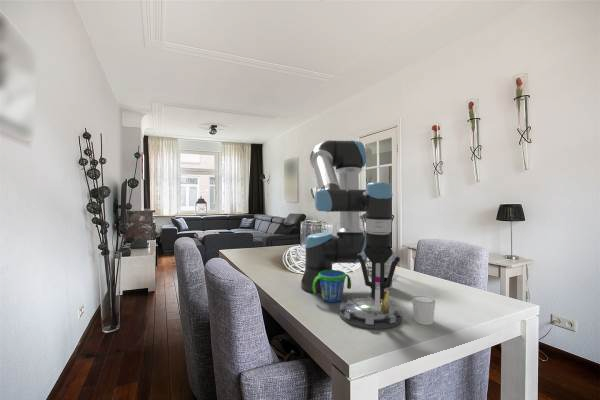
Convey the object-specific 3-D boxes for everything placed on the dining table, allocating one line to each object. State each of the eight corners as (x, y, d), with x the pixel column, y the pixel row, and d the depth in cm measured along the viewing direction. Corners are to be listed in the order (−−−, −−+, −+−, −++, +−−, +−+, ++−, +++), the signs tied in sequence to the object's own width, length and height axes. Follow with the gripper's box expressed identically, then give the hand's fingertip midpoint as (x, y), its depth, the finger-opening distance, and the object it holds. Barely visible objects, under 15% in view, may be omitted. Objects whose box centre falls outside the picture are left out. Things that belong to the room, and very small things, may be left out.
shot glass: (437, 326, 92) (438, 304, 92) (413, 324, 93) (414, 302, 93) (432, 317, 98) (432, 296, 98) (410, 315, 100) (410, 294, 100)
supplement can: (371, 289, 128) (371, 254, 127) (374, 283, 135) (374, 250, 135) (391, 291, 125) (391, 255, 124) (392, 286, 132) (393, 252, 132)
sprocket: (369, 330, 86) (369, 299, 86) (328, 308, 102) (328, 281, 102) (414, 316, 96) (414, 288, 96) (370, 298, 113) (370, 274, 113)
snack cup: (316, 306, 108) (316, 278, 107) (308, 296, 118) (308, 270, 118) (356, 302, 111) (356, 275, 111) (345, 293, 122) (345, 268, 121)
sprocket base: (329, 320, 95) (329, 317, 95) (351, 301, 113) (351, 298, 113) (394, 335, 86) (394, 332, 86) (406, 311, 103) (406, 308, 103)
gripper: (356, 233, 90) (355, 311, 90) (401, 235, 87) (400, 316, 87) (357, 230, 97) (356, 302, 98) (399, 232, 94) (398, 306, 94)
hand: (377, 309), depth 92 cm, fingers closed
